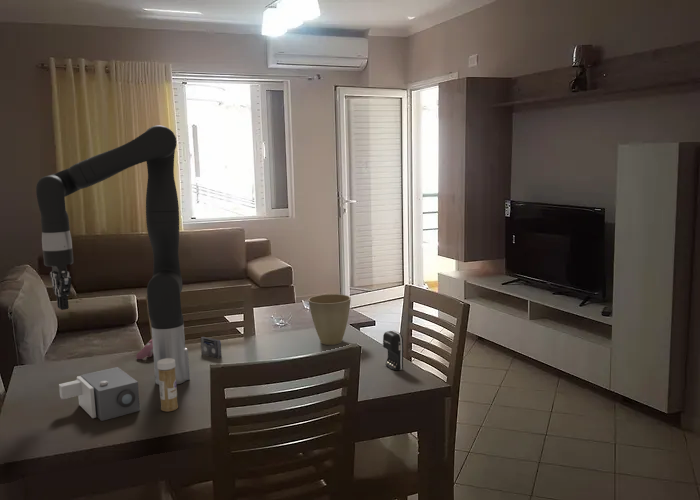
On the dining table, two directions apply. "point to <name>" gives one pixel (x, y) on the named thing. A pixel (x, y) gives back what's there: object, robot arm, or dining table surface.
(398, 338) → the battery charger
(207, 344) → the mini dv tape
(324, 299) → the plant pot
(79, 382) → the side cover
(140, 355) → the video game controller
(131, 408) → the box
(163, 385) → the sprinkles bottle
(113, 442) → the dining table surface
